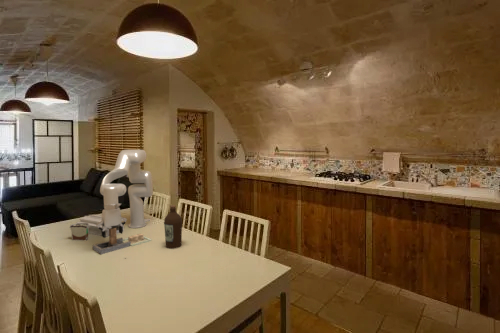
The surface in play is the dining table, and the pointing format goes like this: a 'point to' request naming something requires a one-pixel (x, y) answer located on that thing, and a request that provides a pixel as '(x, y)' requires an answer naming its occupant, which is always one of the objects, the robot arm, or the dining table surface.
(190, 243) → the dining table surface
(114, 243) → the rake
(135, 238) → the block
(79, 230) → the food container
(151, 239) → the tray
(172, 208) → the olive oil
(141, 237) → the block
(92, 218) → the aluminum extrusion profile
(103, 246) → the channel
